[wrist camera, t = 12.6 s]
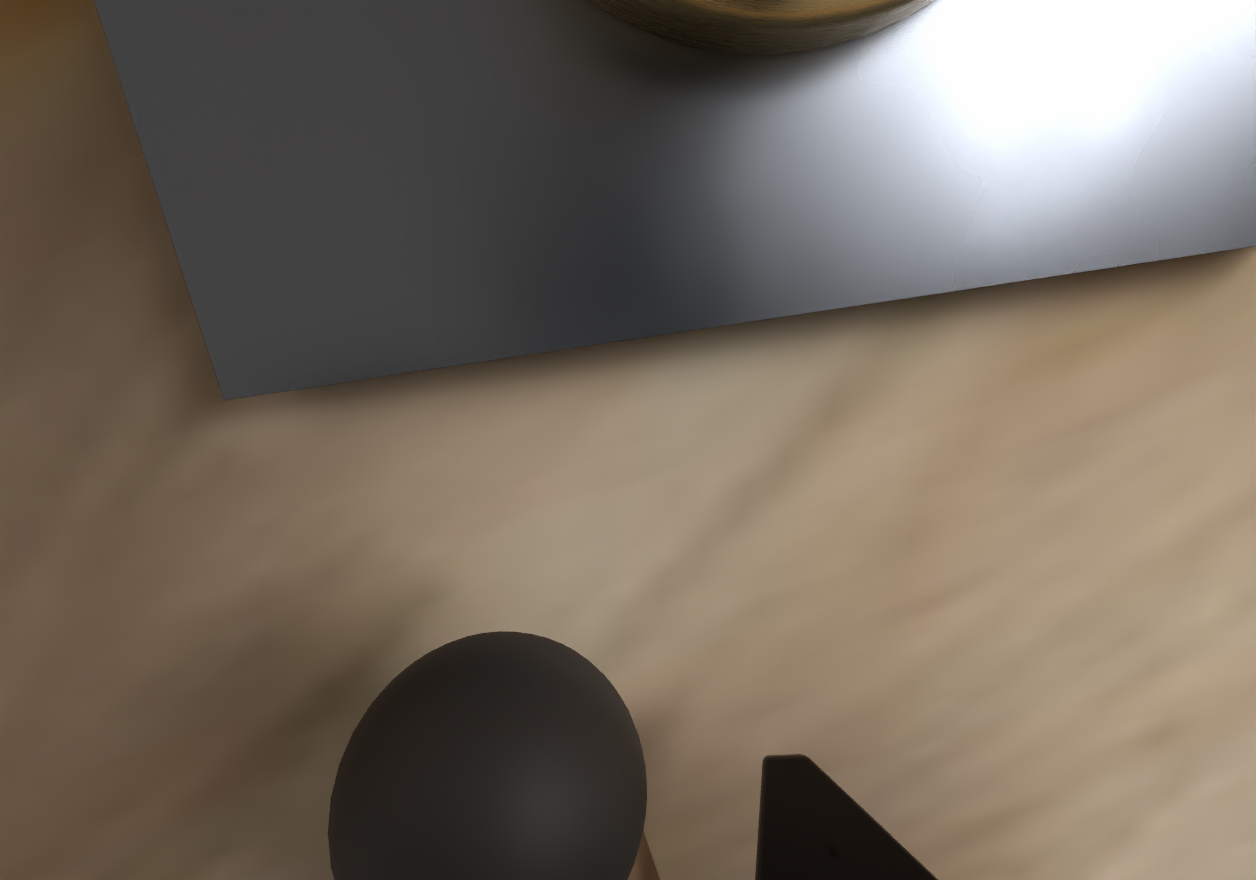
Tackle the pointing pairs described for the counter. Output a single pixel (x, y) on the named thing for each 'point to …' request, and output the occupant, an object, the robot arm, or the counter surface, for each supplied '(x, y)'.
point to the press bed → (657, 167)
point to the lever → (493, 771)
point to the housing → (760, 22)
